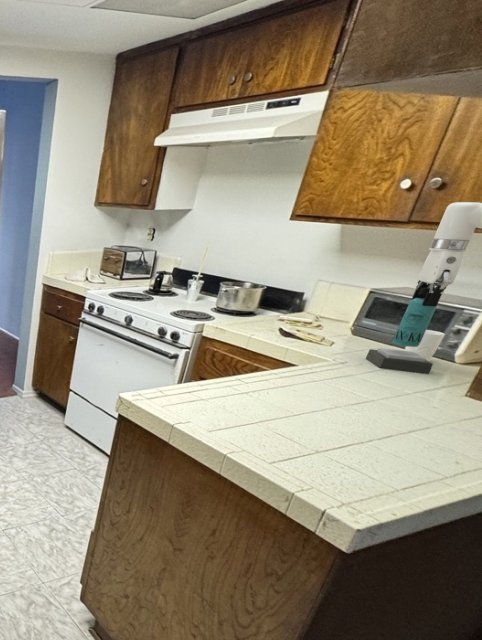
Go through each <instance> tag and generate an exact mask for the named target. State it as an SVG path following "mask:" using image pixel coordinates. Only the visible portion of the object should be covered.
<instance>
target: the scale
mask: <svg viewBox="0 0 482 640" xmlns="http://www.w3.org/2000/svg"><path fill="white" fill-rule="evenodd" d="M365 360H367V361H368V362H370V363H371V364H373V365H374V366H376V367H377V368H379V369H382V370H389V371H390V370H391V371H400V372H407V373H415V372H416V374H424V375H430V372H431V370H432V367H433V365H434V363H433V362H431V361H430V362H429V361H427V360H425V362H420V361H411V360H402V359H393V358H387V357H385V356H383V355H382V354H380V353H379V352H377V349H372V348H369V350H368V353H367V354H366V357H365Z"/></svg>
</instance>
